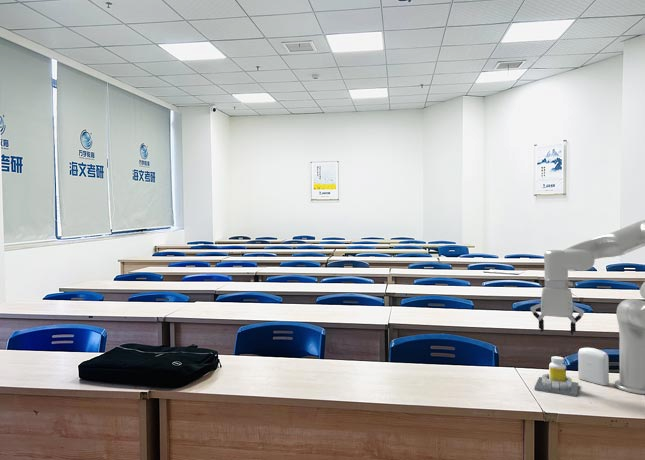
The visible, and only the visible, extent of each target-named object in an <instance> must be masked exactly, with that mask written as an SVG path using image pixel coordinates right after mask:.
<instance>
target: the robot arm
mask: <svg viewBox="0 0 645 460" xmlns="http://www.w3.org/2000/svg"><path fill="white" fill-rule="evenodd" d="M643 247H645V219H643V220H639V221H637V222H634V223H633V224H630V225H627V226H625V227H622V228H620V229H618V230H615V231H612V232H610V233H607V234H604V235H600V236H597V237H595V238H591V239H587V240H585V241H582V242H579V243H577V244H574V245H572V246H569V247H567V248H565V249H564V250H562V249H560V250H559V249H552V250H551V249H549V250H546V251H545V252H544V254H543V255H544V257H543V258H544V259H543V260H544V262H543V264H544V287H542V291H541V298H540V303H537V304H535V305H533V306H531V307H529V310H530V311H531V313H532V315H533V316H534V317H535V318H536V319H537V320H538V330H540V332H544V330H545V320H544V318H545V317H554V318H555V317H556V318H567V319H569V320H570V335H574V333H576V325H577V324H576V323H577V322H578V321H580V320H581V319H582V317H583V316H584V313H585V310H583V309H582V308H579V307H578V306H576V305H574V304H573V302H574V301H573V295H572V294H573V293H572V289H571V288H570V287H573V286H574V285H573V283H574V282H573V281H570V280H569V270H570V271H579V272H585V271H589V270H590V269H592V267H594V265H595V263H596V262H595V260H597V259H603V258H615V257H619V256H623V255H626V254H628V253H630V252H633V251H636V250H639V249H640V248H643ZM639 293H640V296H641V298H643V299H644V300H640V299H636V298H627V299H624V300H622V301H621V302H620V303H618V305H617V307H616V319H617V324H618V330H619V331H618V332H619V333H618V335H619V345H618V347H619V348H618V349H619V350H618V351H619V379H618V380H615V381H614V386H615V388H617V389H619V390H621V391H624V392H628V393H633V394H638V395H645V281H644V282H643V283H642V285H641V286H640V289H639ZM537 309H540V313H541V314H539V313H538V312H537V311H536V310H537ZM574 311H575V312H578V315H577V316H574V315H573V314H574Z"/></svg>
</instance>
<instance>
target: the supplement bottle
mask: <svg viewBox="0 0 645 460" xmlns="http://www.w3.org/2000/svg"><path fill="white" fill-rule="evenodd" d="M550 360H551V362H550V363H549V365H548V369H549V370H548V372H549V373H548V374H549V379H550V380H554V381H566V376H567V373H566V372H567V366H566V364H564V363H565V358H564V357H561V356H558V355H557V356H556V355H555V356H551V359H550Z"/></svg>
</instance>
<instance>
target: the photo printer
mask: <svg viewBox="0 0 645 460" xmlns="http://www.w3.org/2000/svg"><path fill="white" fill-rule="evenodd" d="M577 359H578V361H577V363H578V364H577V365H578V366H577V369H578V371H577V372H578V374H577V375H578V379H579V380H581V381H586V382H590V383H593V384H597V385H601V386H608V385H609V383H610V379H609V378H610V376H609V373H610V370H609V367H610V366H609V355H608V353H607V352H605V351H603V350H601V349H597V348H594V347H581V348H579V350H578V352H577Z"/></svg>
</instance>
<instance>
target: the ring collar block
mask: <svg viewBox="0 0 645 460" xmlns="http://www.w3.org/2000/svg"><path fill="white" fill-rule="evenodd" d="M578 388H579V382H575V381H573V380H572V378H571V377H569V376H567V375H566V381H554V380H550V379H549V373H545V374H542V376H541V377H540V376H539V377H538V379H537V381H536V383H535V385H534V391H538V392H545V393H551V394H557V395H558V394H559V395H565V396H568V397H569V396H571V397H577V395H578Z"/></svg>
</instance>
